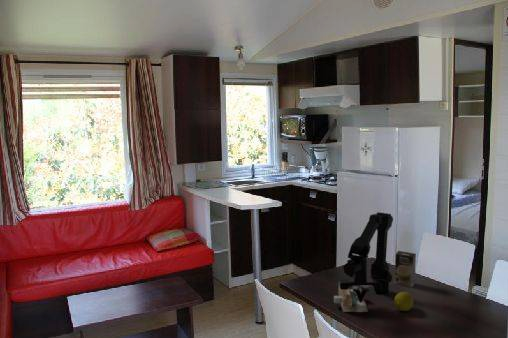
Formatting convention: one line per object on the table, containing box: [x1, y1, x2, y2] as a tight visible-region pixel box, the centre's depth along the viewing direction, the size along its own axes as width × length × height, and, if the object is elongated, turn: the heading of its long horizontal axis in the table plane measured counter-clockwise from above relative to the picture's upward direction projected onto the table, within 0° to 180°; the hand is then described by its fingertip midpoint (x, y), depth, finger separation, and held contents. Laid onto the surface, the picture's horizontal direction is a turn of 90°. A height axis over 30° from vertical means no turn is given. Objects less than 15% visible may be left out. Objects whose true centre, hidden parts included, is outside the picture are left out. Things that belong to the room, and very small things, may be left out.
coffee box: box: [394, 250, 417, 288], centre depth 230 cm, size 9×6×16 cm
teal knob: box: [333, 294, 357, 305], centre depth 205 cm, size 10×4×5 cm, turn 85°
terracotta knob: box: [348, 287, 361, 297], centre depth 212 cm, size 10×4×5 cm, turn 85°
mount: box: [338, 286, 369, 313], centre depth 209 cm, size 11×18×6 cm, turn 175°
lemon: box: [393, 291, 414, 312], centre depth 201 cm, size 11×8×8 cm
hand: (360, 302), depth 204 cm, fingers closed
